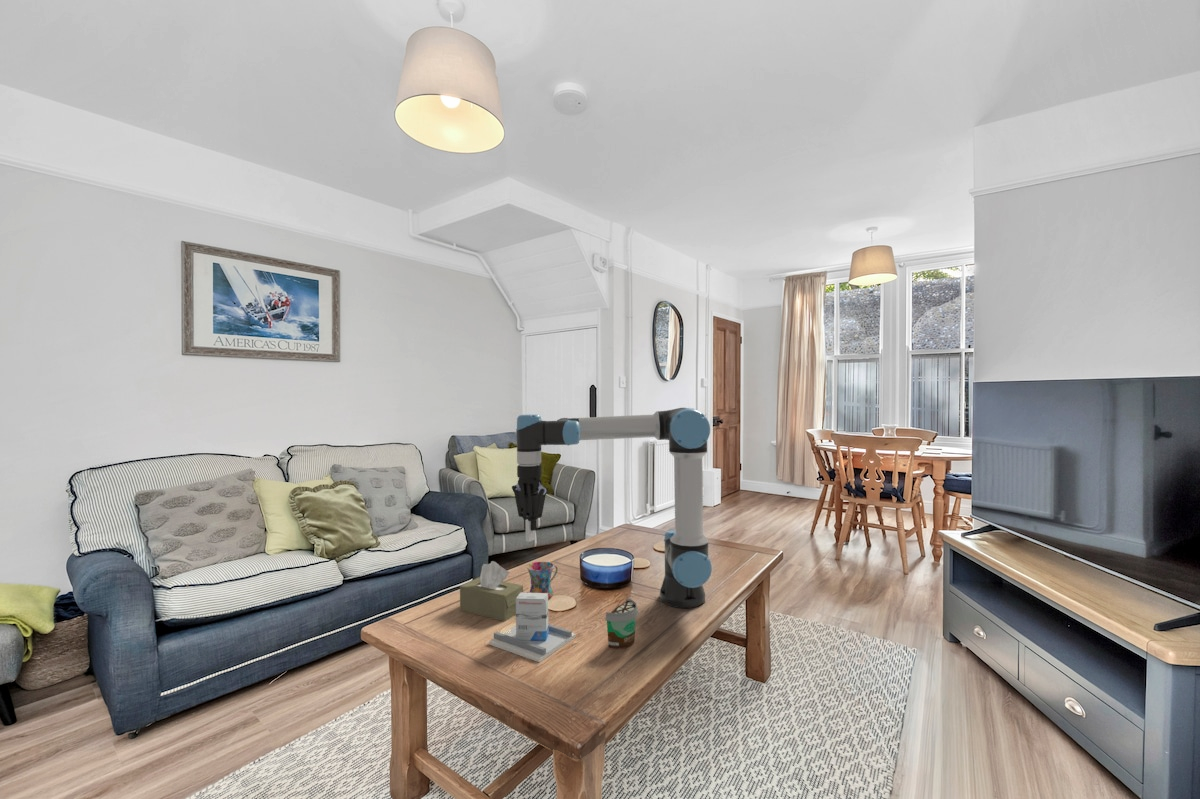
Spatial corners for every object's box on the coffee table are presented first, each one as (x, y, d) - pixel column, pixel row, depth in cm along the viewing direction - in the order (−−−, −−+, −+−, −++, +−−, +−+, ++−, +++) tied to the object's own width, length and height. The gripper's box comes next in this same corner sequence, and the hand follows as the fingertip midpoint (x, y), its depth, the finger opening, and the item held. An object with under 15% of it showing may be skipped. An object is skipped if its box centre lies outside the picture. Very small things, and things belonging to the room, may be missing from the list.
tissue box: (524, 610, 165) (523, 561, 165) (505, 622, 156) (505, 570, 156) (479, 599, 174) (478, 553, 173) (459, 610, 165) (458, 562, 165)
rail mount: (575, 637, 146) (575, 628, 146) (539, 662, 132) (539, 652, 132) (527, 622, 155) (527, 614, 155) (489, 644, 142) (489, 635, 142)
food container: (625, 655, 135) (625, 617, 135) (605, 649, 139) (605, 612, 138) (646, 636, 146) (646, 601, 146) (627, 631, 149) (627, 597, 149)
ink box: (549, 633, 146) (548, 592, 146) (546, 641, 141) (545, 599, 141) (520, 632, 147) (519, 591, 147) (515, 640, 142) (515, 598, 142)
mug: (538, 604, 169) (538, 572, 169) (521, 596, 175) (521, 566, 175) (566, 594, 177) (565, 563, 177) (549, 587, 184) (548, 557, 184)
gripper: (553, 464, 157) (554, 540, 158) (521, 461, 164) (522, 534, 165) (537, 467, 151) (538, 546, 151) (505, 464, 158) (506, 540, 158)
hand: (530, 540), depth 158 cm, fingers closed
